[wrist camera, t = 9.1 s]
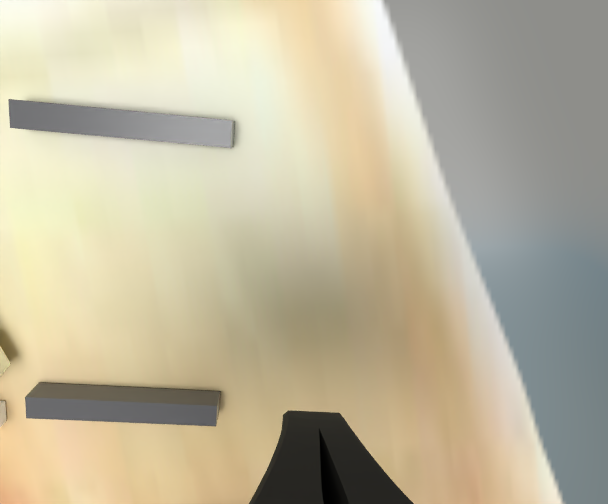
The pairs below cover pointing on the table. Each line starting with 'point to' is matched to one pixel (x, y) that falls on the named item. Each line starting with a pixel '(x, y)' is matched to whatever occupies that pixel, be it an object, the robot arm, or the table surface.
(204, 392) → the dark grey bars
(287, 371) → the table surface
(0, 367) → the pipe fitting
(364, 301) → the table surface
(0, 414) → the bracket
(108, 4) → the table surface
